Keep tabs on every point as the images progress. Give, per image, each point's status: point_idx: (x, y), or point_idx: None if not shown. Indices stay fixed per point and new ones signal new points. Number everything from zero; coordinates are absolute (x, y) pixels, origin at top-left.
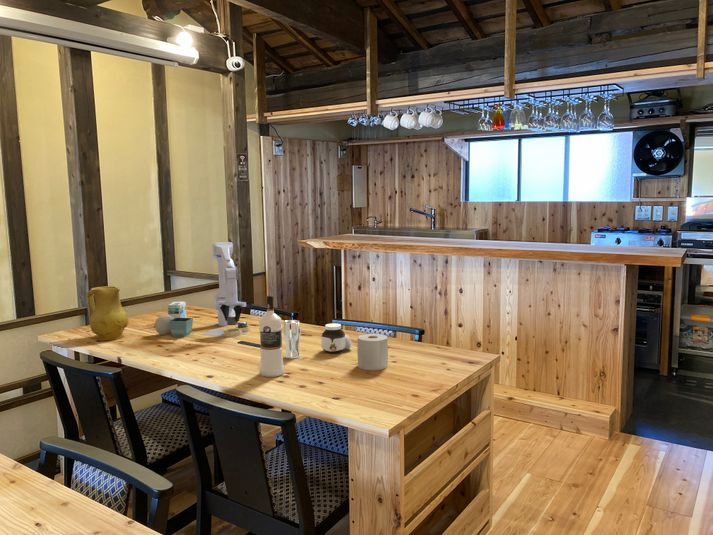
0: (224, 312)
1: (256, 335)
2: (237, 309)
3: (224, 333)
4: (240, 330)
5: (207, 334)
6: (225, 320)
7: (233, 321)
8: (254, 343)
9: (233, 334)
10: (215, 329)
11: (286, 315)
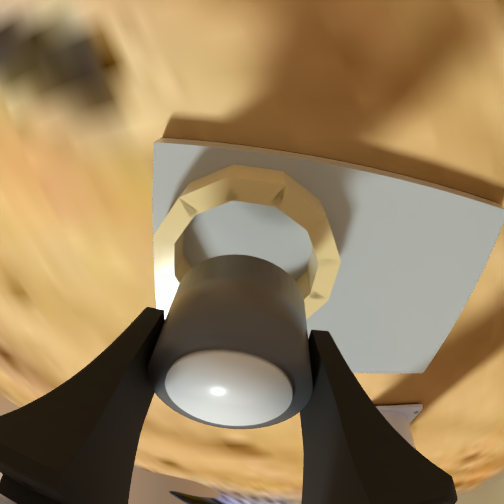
0: (355, 428)
1: (96, 287)
2: (4, 425)
3: (309, 198)
4: (161, 265)
5: (463, 223)
6: (329, 334)
7: (185, 294)
8: (6, 77)
9: (202, 181)
10: (420, 355)
11: (188, 497)
